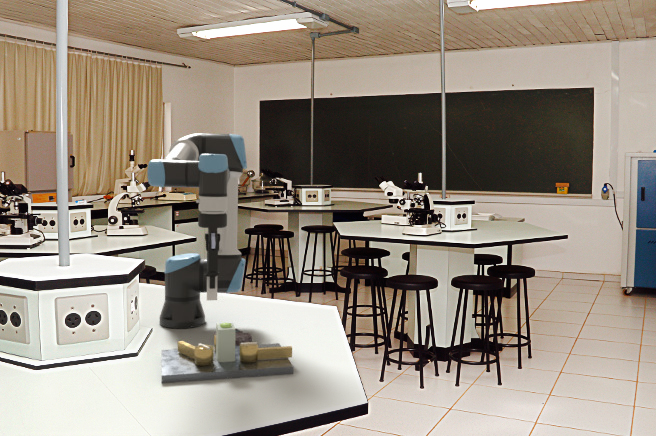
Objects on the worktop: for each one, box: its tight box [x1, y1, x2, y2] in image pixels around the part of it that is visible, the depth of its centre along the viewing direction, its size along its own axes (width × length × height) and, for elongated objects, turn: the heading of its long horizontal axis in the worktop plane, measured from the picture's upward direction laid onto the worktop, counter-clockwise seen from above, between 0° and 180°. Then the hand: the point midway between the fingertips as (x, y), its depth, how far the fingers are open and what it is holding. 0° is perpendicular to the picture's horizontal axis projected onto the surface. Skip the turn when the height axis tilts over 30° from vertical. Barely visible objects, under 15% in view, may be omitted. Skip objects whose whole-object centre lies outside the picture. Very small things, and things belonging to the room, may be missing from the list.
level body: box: [215, 322, 236, 362], centre depth 167 cm, size 6×5×10 cm
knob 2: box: [239, 341, 293, 362], centre depth 167 cm, size 14×5×5 cm, turn 106°
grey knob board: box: [160, 335, 294, 384], centre depth 167 cm, size 20×34×6 cm, turn 105°
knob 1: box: [177, 340, 214, 365], centre depth 166 cm, size 14×5×5 cm, turn 45°
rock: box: [213, 328, 253, 346], centre depth 185 cm, size 8×11×5 cm
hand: (211, 299), depth 163 cm, fingers closed
